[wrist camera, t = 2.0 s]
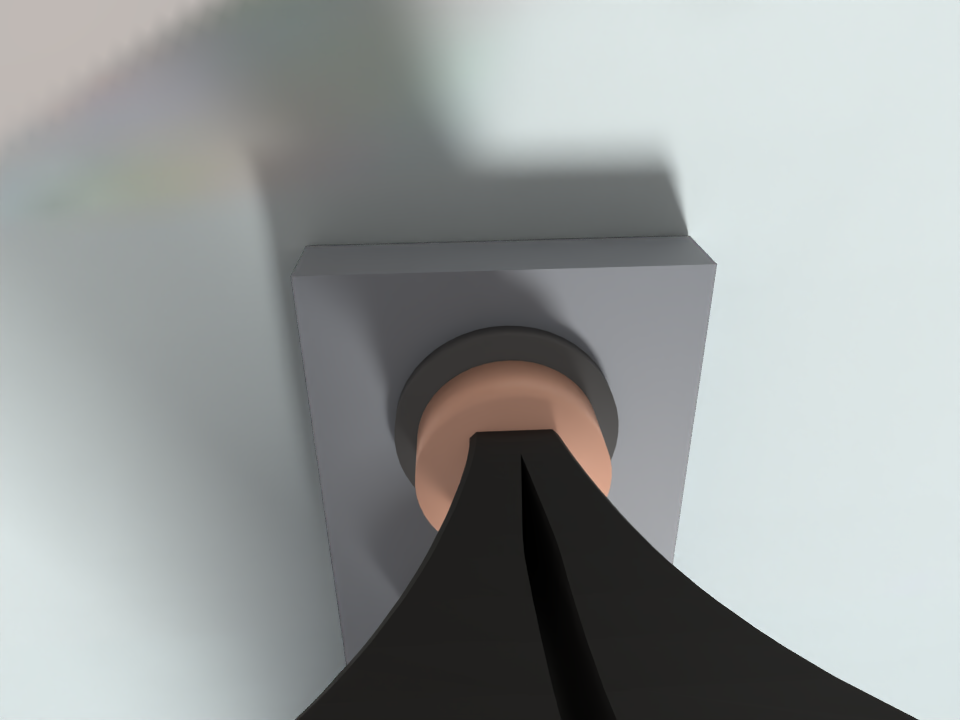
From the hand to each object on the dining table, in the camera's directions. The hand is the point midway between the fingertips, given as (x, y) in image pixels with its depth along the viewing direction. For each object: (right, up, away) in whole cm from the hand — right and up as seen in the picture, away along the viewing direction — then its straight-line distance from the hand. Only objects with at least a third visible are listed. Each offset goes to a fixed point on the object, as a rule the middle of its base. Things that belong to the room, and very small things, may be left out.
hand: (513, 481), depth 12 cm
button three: (0, +1, +1) cm, 1 cm away
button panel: (0, -3, +5) cm, 6 cm away
